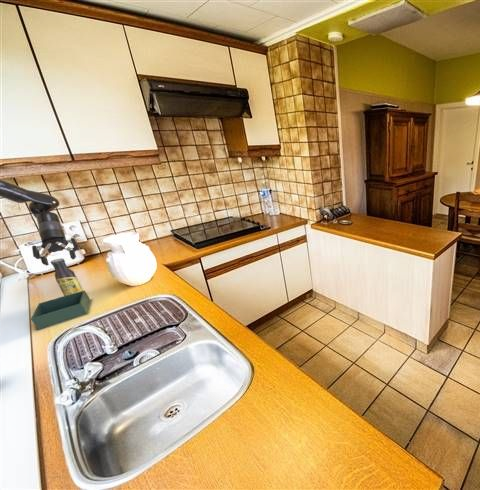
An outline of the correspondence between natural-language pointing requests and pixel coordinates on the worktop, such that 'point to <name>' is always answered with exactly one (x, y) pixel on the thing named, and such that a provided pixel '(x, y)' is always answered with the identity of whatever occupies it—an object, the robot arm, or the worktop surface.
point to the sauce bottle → (66, 278)
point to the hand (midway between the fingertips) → (60, 261)
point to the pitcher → (129, 259)
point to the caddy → (60, 309)
